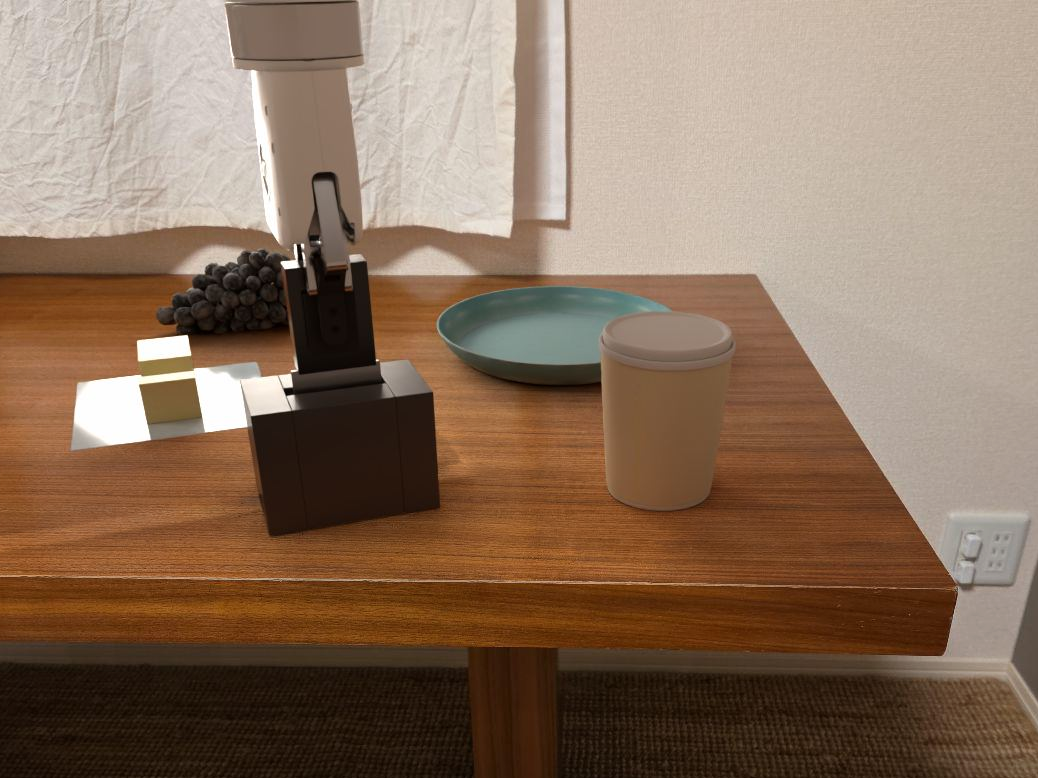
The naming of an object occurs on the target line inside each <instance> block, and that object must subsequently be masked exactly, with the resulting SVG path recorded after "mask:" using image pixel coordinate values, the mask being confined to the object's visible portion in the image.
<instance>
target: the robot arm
mask: <svg viewBox="0 0 1038 778" xmlns="http://www.w3.org/2000/svg"><path fill="white" fill-rule="evenodd" d="M223 2H224V11H225V12H224V13H225V17H226V25H227V32H228V39H229V46H230V54H231V60H232V61H231V62H232V67H233V69H236V70H243V71H251V86H252V87H251V88H252V102H253V115H254V124H255V132H256V133H255V134H256V140H257V142H256V143H257V149H258V158H259V165H260V175H261V183H262V193H263V202H264V212H265V219H266V223H267V226H268V227H269V229H270V231H271V233H272V234H273V236H274V238H275V239H276V241H277V243H278V244H279V246H281V247H282V248H283V250H285V251H288V252H294V257H295V260H303V263H304V271H305V279H306V286H307V292H308V293H303V299H304V307H305V315H306V323H307V331H308V339H309V347H310V351H311V352H312V354H313V355H316V356H319V355H327V354H335V353H343V352H352V351H356V350H358V349H359V347H360V342H359V332H358V322H357V312H356V302H355V292H354V289H353V286H352V276H351V266H350V256H349V255H350V246H349V244H350V245H351V246H356V245H357V244H358V243H359V242H360V241H361V239H363V234H364V227H363V226H364V224H363V205H362V193H361V180H360V169H359V160H358V159H359V158H358V152H357V151H358V150H357V142H356V131H355V124H354V117H353V115H354V114H353V104H352V100H351V92H350V84H349V77H348V76H349V75H348V68H356V67H361V66H364V65H365V56H364V47H363V46H364V45H363V35H362V34H363V33H362V22H361V11H360V2H359V1H358V0H223ZM315 258H316V260H315V263H314V259H315Z"/></svg>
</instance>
